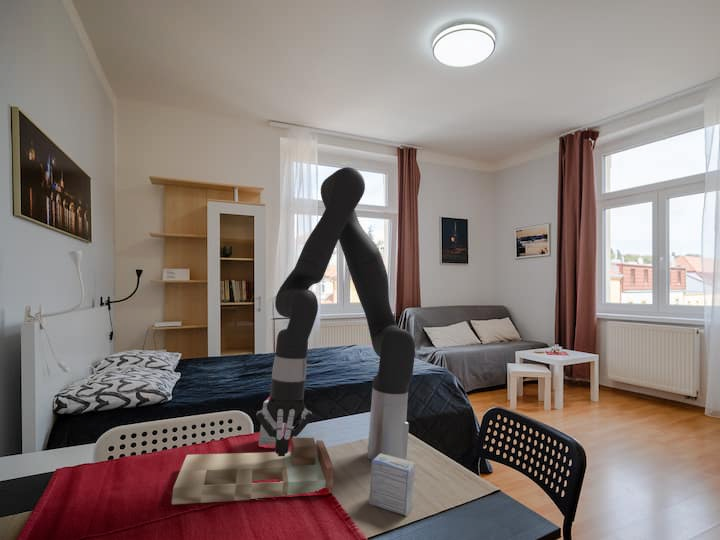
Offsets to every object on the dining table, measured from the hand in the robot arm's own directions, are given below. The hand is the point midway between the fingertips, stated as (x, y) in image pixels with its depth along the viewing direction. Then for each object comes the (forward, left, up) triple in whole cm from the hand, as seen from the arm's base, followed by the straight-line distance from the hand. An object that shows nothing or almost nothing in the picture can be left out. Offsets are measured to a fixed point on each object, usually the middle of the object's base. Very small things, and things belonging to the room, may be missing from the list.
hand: (280, 454), depth 85 cm
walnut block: (-5, 0, -1) cm, 5 cm away
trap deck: (+5, +3, -4) cm, 7 cm away
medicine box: (-21, +15, -4) cm, 26 cm away
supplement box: (+1, -16, -4) cm, 17 cm away
